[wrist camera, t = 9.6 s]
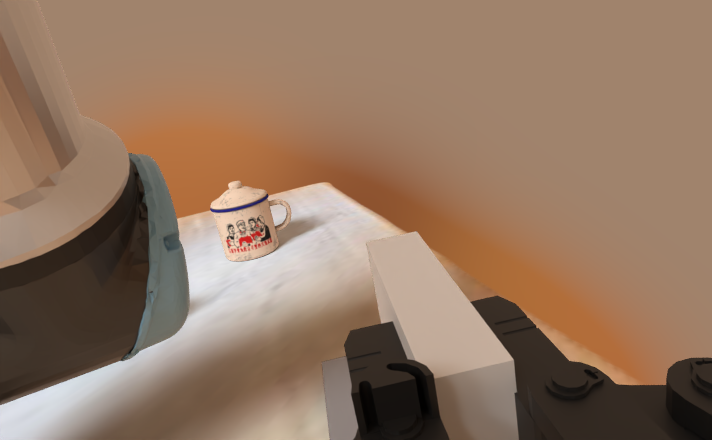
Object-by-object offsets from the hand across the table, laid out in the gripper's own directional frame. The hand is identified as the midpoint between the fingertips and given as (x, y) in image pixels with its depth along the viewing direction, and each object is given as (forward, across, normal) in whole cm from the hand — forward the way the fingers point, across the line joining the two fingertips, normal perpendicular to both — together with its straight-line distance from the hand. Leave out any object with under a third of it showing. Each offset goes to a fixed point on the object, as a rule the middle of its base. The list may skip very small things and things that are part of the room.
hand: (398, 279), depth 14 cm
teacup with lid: (+63, -13, -21) cm, 68 cm away
